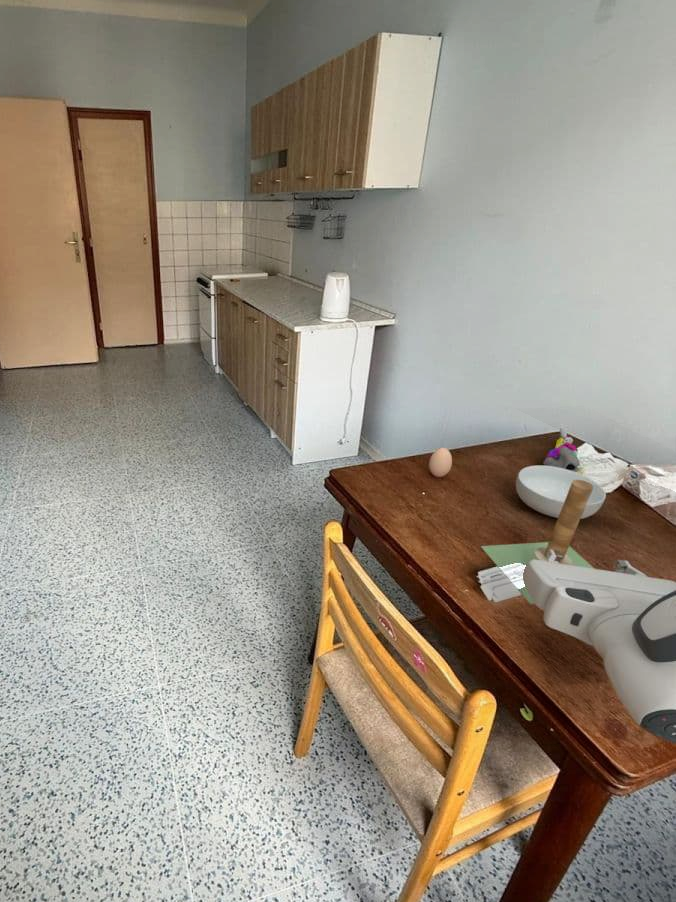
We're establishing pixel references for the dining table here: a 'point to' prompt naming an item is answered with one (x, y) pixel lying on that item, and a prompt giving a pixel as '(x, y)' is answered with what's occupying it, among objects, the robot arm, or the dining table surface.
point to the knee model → (564, 455)
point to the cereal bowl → (554, 489)
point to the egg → (440, 462)
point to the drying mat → (525, 557)
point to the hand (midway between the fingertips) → (585, 557)
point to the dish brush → (567, 521)
